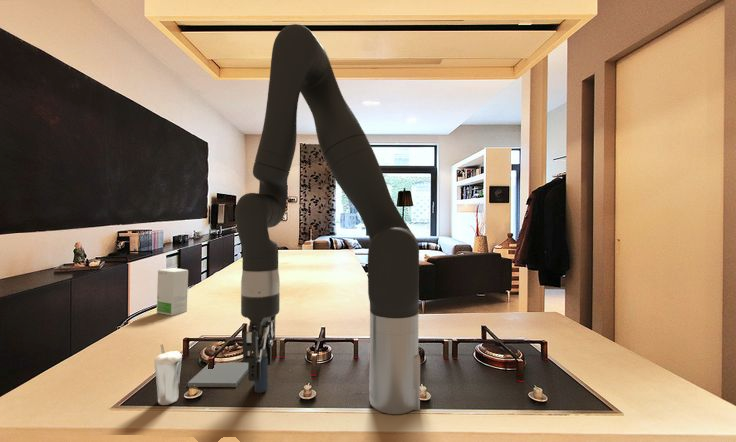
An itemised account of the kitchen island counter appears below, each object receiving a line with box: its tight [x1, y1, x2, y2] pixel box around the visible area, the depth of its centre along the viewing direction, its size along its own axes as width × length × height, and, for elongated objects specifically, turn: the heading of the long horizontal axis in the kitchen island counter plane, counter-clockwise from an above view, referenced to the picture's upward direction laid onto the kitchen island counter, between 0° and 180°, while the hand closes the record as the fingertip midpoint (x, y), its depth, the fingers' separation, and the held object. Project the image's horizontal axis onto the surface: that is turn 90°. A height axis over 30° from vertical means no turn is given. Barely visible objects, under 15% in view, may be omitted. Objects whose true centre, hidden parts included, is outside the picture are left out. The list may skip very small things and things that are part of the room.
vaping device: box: [253, 343, 269, 394], centre depth 71 cm, size 3×5×12 cm, turn 21°
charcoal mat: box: [187, 361, 248, 388], centre depth 76 cm, size 10×10×1 cm
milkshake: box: [153, 343, 183, 406], centre depth 66 cm, size 4×5×10 cm
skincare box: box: [156, 267, 189, 317], centre depth 125 cm, size 8×7×16 cm
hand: (260, 371), depth 71 cm, fingers open, 6 cm apart
